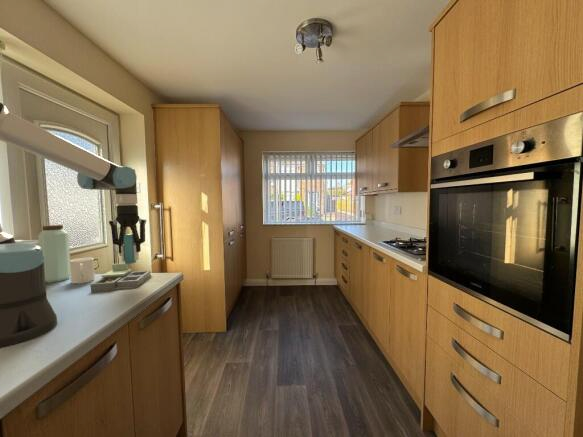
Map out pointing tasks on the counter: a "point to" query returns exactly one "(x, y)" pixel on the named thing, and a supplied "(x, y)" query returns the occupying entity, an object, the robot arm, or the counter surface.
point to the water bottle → (55, 252)
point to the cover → (117, 270)
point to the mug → (82, 270)
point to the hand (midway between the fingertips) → (130, 260)
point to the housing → (121, 281)
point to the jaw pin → (129, 248)
